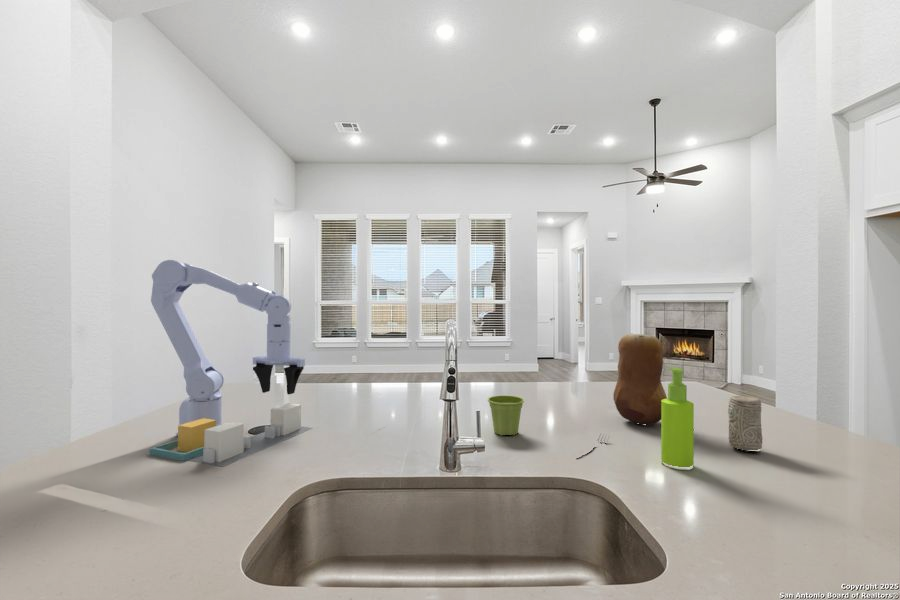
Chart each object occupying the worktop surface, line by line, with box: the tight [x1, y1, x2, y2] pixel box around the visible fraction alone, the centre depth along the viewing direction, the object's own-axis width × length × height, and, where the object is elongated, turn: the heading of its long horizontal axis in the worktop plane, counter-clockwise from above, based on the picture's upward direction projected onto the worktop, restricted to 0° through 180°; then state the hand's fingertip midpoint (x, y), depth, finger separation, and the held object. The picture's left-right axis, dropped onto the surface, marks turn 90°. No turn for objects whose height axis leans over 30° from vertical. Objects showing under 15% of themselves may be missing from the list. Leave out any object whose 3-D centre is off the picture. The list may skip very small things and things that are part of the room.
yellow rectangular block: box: [177, 418, 216, 453], centre depth 93 cm, size 4×6×6 cm, turn 160°
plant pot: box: [487, 394, 525, 436], centre depth 109 cm, size 9×9×9 cm
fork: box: [596, 433, 610, 443], centre depth 97 cm, size 3×16×2 cm, turn 138°
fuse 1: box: [204, 421, 245, 462], centre depth 88 cm, size 4×6×6 cm, turn 160°
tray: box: [149, 439, 204, 462], centre depth 93 cm, size 10×14×3 cm
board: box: [187, 423, 313, 468], centre depth 96 cm, size 9×27×4 cm, turn 160°
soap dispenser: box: [660, 366, 695, 467], centre depth 88 cm, size 6×7×20 cm
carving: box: [727, 395, 764, 451], centre depth 97 cm, size 6×8×12 cm
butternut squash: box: [613, 332, 668, 426], centre depth 118 cm, size 14×13×25 cm
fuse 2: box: [270, 403, 302, 435], centre depth 105 cm, size 4×6×6 cm, turn 160°
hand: (278, 392), depth 112 cm, fingers open, 7 cm apart
